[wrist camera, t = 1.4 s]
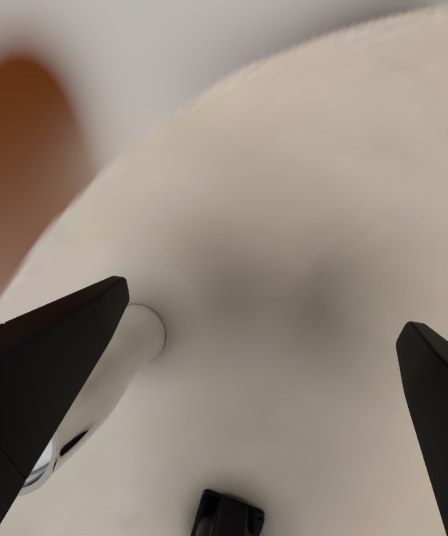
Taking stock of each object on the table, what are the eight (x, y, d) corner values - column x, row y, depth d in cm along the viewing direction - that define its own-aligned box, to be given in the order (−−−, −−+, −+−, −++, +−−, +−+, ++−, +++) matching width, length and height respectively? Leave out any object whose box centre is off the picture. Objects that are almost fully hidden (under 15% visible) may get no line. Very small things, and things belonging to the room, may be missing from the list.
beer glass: (133, 285, 28) (-16, 338, 13) (184, 333, 28) (88, 443, 13) (92, 332, 29) (-86, 429, 15) (140, 379, 29) (9, 526, 14)
